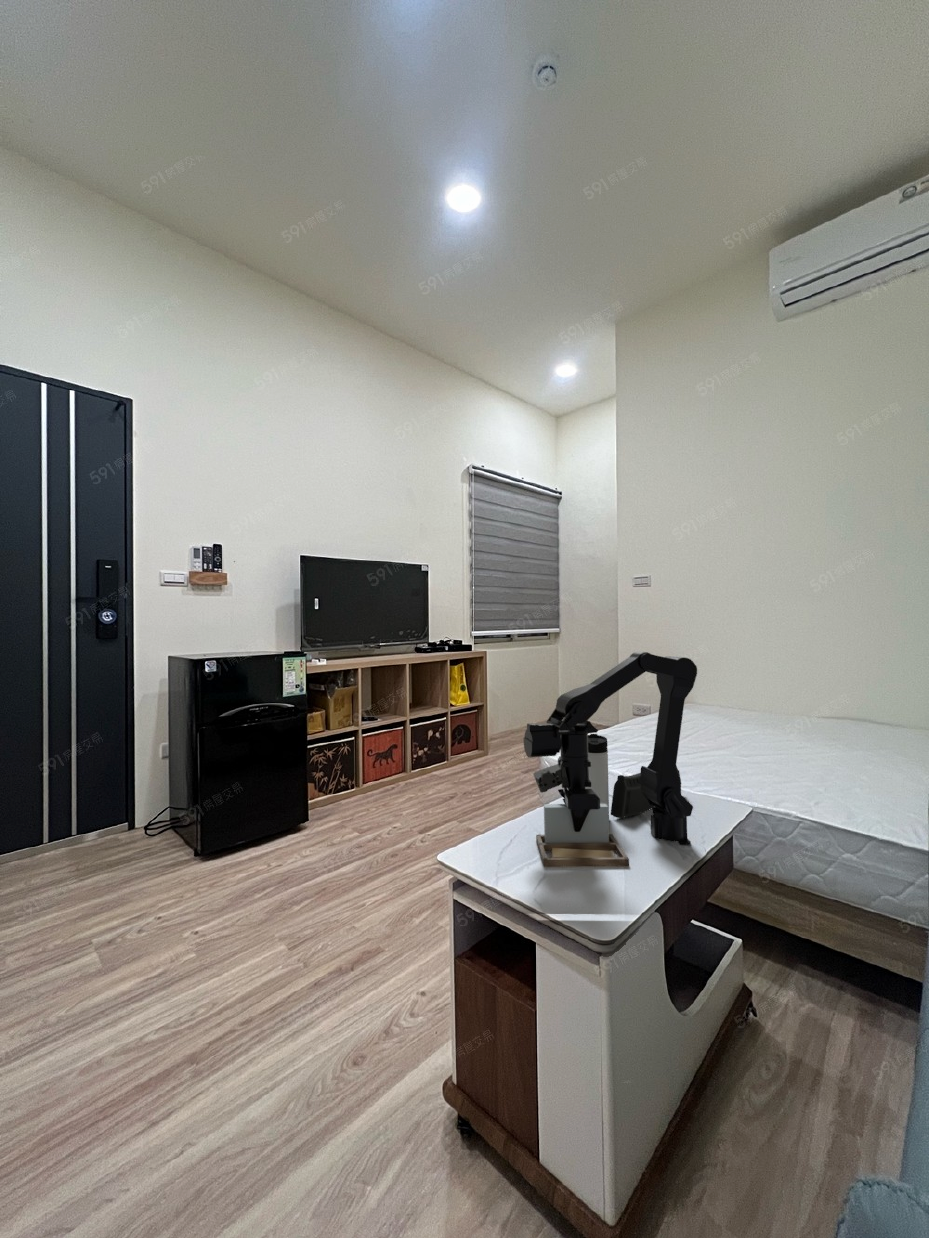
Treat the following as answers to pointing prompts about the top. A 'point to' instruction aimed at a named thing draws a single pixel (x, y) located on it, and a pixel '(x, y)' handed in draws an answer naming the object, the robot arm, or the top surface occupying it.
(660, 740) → the robot arm
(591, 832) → the gray rectangular panel
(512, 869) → the top surface
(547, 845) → the brown wooden tray
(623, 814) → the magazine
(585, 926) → the top surface
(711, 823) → the top surface
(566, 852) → the offcut top
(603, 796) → the travel mug
